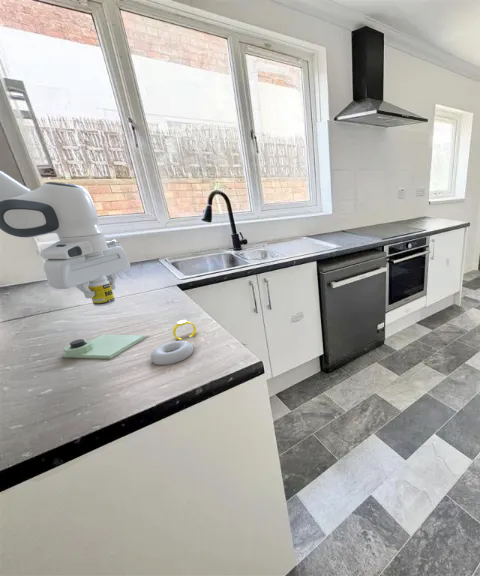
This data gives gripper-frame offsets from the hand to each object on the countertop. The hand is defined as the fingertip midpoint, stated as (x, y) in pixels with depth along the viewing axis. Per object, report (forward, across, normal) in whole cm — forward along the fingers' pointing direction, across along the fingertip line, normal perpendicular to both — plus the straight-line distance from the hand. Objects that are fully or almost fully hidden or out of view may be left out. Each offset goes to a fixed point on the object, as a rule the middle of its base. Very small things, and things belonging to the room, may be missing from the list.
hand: (101, 293), depth 88 cm
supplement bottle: (+3, 0, 0) cm, 3 cm away
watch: (+17, -6, +17) cm, 25 cm away
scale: (+17, +1, -3) cm, 17 cm away
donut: (+17, +5, +21) cm, 28 cm away
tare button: (+14, +5, -7) cm, 17 cm away
